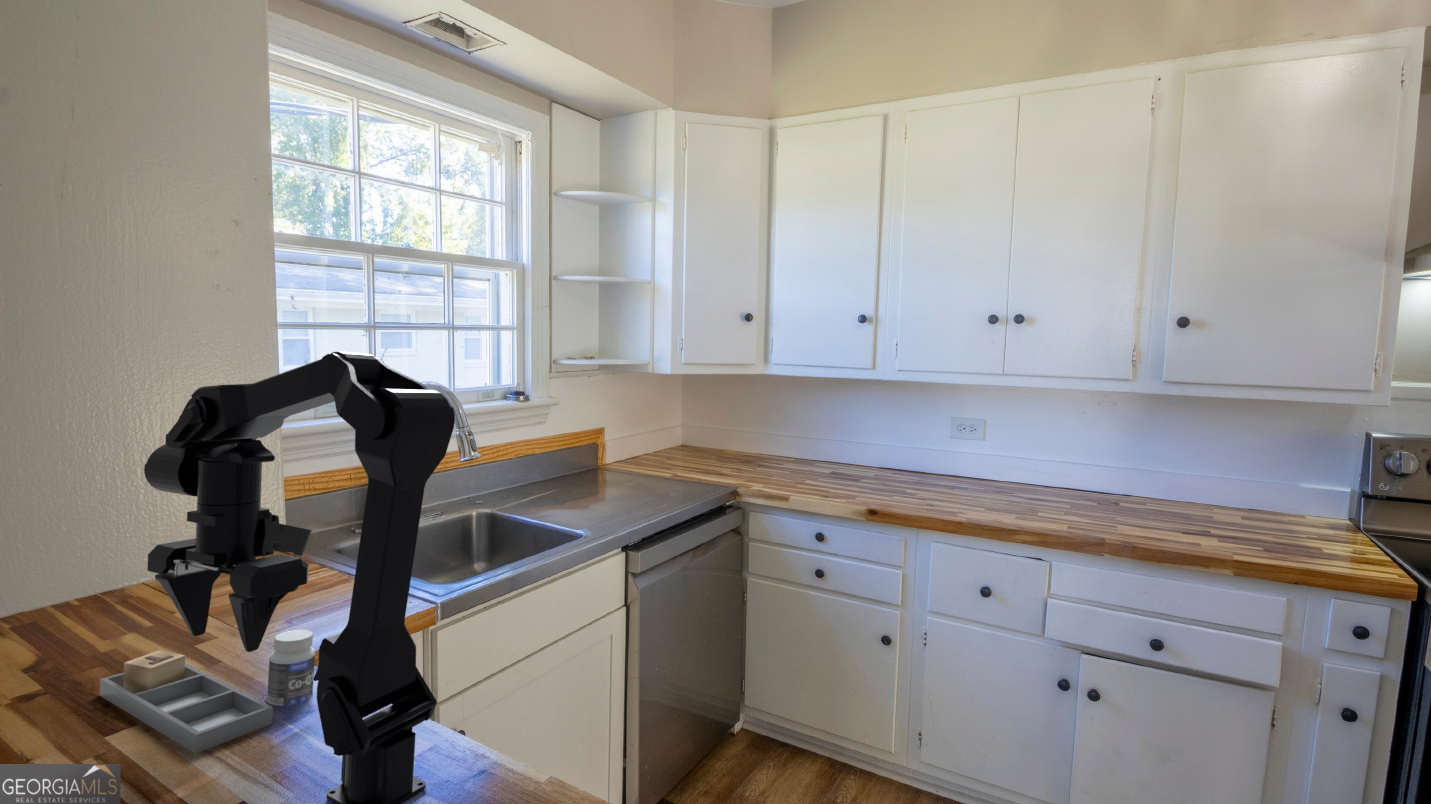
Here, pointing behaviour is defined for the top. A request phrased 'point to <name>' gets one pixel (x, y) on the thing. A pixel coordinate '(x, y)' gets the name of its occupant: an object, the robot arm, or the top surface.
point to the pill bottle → (291, 668)
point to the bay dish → (191, 709)
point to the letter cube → (153, 671)
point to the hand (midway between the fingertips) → (224, 642)
